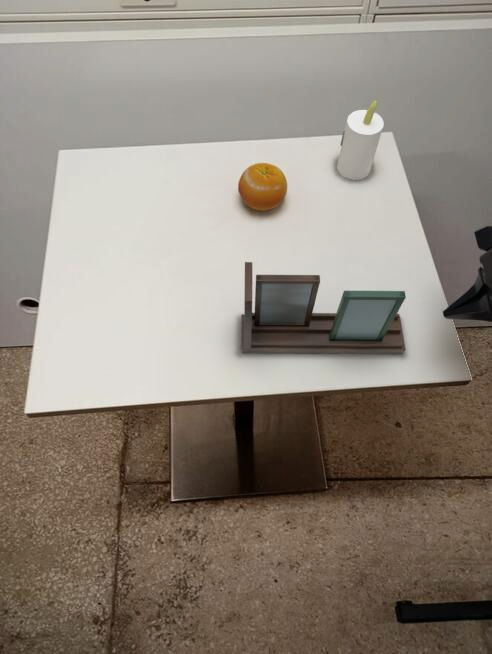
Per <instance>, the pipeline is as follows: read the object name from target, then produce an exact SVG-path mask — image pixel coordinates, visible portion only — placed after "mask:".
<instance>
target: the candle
mask: <svg viewBox="0 0 492 654" xmlns="http://www.w3.org/2000/svg"><path fill="white" fill-rule="evenodd" d="M377 104H378V101H377V100H376V99H375V100H374V101H373V102H372V103H371V104H370V105H369V107H368V109H358V110H354V111H353V112H351V113H350V114H349V115H348V116H347V119H346V124H345V129H344V130H343V132H342V136H341V141H340V151H339V155H338V159H337V167H336V168H337V172H338V173H339V174H340V175H341V176H342V177H343V178H345V179H347V180H352V181H359V180H363V179H365V178H367V176H369V175H370V172H371V169H372V166H373V163H374V159H375V156H376V153H377V149H378V146H379V141H380V139H381V136H382V132H383V129H384V127H385V126H384V125H385V123H384V119H383V118H382V116H381V115H380V114H378V113H377V112H375V111H376V108H377Z"/></svg>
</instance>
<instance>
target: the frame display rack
mask: <svg viewBox="0 0 492 654" xmlns="http://www.w3.org/2000/svg"><path fill="white" fill-rule="evenodd" d="M320 284H321V275H320V274H256V275H255V292H254V293H255V295H254V312H253V262H252V261H244V309H243V311H244V312H243V313H244V314H243V313H242V314H241V317H240V318H241V323H240V325H241V327H240V329H241V331H240V332H241V333H240V353H242V354H245V353H246V354H353V355H354V354H356V355H357V354H364V355H366V354H369V355H370V354H371V355H374V354H376V355H403V354H404V353H405V352H406V344H405V339H404V332H403V326H402V319H401V315H400V313H397V314H396V316H395V318H394V320H393V322H392V323H391V325H390V327H389V329H388V331H387V333H386V334H385V336H384V338H383V340H382V341H329V334H330V331H331V328H332V325H333V322H334V319H335V316H336V313H337V312H314V308H315V305H316V300H317V296H318V292H319V289H320V288H319V287H320Z"/></svg>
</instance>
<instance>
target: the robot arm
mask: <svg viewBox="0 0 492 654" xmlns="http://www.w3.org/2000/svg"><path fill="white" fill-rule="evenodd" d="M473 234H474V237H475V240H476V244H477V248H478V249H479V250H480V251H483V252H484V253H482V254H481V255H480V256H479V263H480V265H482V266H479V268H478V269H477V277H476V278H475V282H473V284H472V286H471V287H470V288H469V289H468V290H467V291H466V292H465V293H463V294H462V295H461V296H460V297H458V298H457V299H456V300H455V301H453V302H452V303H451V304H450V305H449V306H447V307H446V308H444V310H442V315H443V318H444V319H447V320H463V321H483V322H489V323H492V225H485V226H483V227H481V228H478V229H476V230H474V233H473Z"/></svg>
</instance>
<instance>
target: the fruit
mask: <svg viewBox="0 0 492 654" xmlns="http://www.w3.org/2000/svg"><path fill="white" fill-rule="evenodd" d="M237 189H238V193H239V196H240V198H241V200H242V201H243V203H244V204H245V205H247V206H248V207H249V208H251V209H253V210H256V211H261V212H265V211H269V210H272V209H274V208H276V207H278V206H279V205H280V204H281V203H282V202H283V201H284V200H285V197H286V195H287V191H288V180H287V177H286V176H285V174H284V172H283V171H282V169H281V168H280V167H278V166H276V165H274V164H271V163H267V162H258V163H255V164H252V165H250V166H248V167H247V168H245V170H244V171H243V172H242V174H241V176H240V177H239V180H238V185H237Z"/></svg>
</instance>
